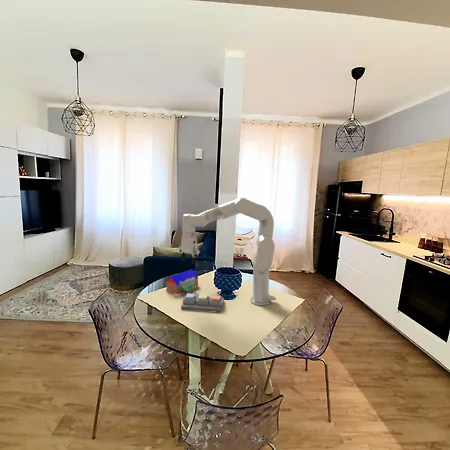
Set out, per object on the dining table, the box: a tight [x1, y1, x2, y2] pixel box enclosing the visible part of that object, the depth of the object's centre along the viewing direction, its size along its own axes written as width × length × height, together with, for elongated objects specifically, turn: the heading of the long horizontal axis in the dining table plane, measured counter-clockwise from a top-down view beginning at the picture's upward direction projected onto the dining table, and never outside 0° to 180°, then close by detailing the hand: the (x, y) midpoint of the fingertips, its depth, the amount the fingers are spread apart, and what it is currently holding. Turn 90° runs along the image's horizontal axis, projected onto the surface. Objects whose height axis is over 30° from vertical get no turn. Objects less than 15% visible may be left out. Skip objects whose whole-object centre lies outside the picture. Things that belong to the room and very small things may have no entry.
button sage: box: [197, 293, 209, 301], centre depth 152 cm, size 5×5×2 cm
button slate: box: [184, 293, 196, 300], centre depth 153 cm, size 5×5×2 cm
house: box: [165, 269, 199, 295], centre depth 178 cm, size 12×20×12 cm, turn 142°
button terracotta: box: [210, 294, 222, 302], centre depth 151 cm, size 5×5×2 cm
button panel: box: [180, 294, 225, 313], centre depth 152 cm, size 23×14×4 cm, turn 81°
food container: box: [179, 276, 195, 296], centre depth 169 cm, size 12×6×10 cm, turn 143°
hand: (188, 261), depth 155 cm, fingers open, 9 cm apart
